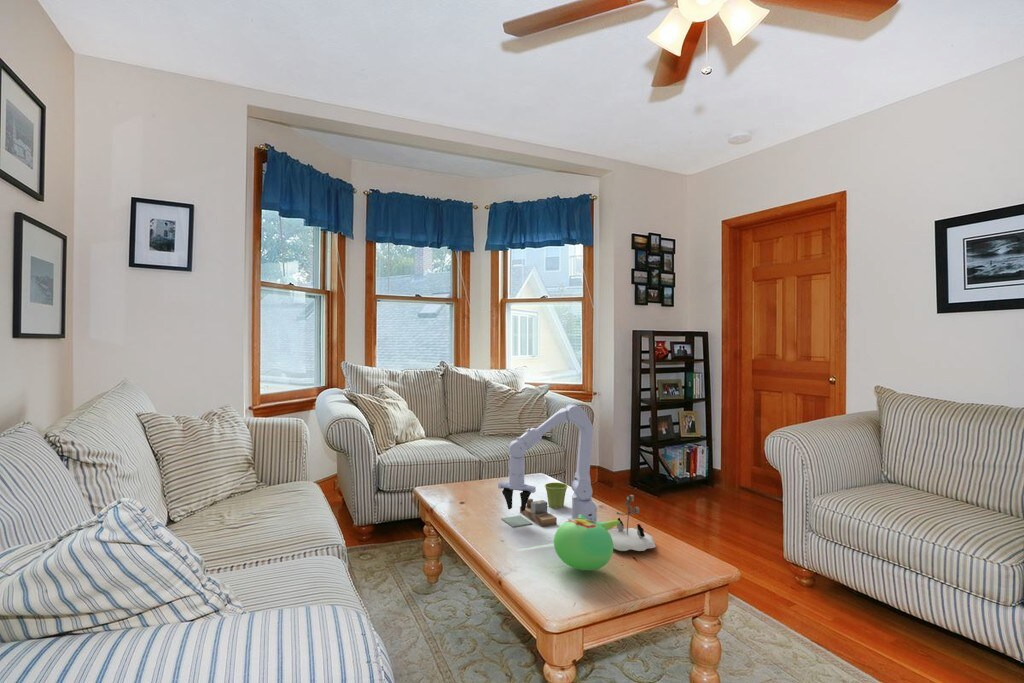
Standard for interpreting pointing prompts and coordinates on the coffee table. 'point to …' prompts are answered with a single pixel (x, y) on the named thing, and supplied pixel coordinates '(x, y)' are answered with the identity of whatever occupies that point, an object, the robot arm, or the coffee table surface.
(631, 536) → the figurine
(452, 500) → the coffee table surface
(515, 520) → the mat
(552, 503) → the plant pot
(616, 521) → the round green toy
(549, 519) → the plane body
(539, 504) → the grey rectangular block
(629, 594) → the coffee table surface
